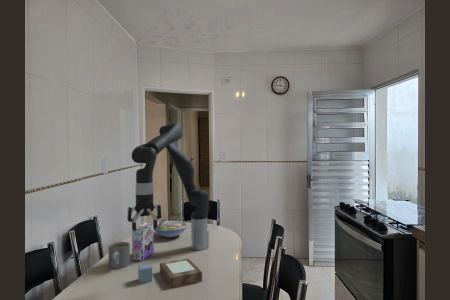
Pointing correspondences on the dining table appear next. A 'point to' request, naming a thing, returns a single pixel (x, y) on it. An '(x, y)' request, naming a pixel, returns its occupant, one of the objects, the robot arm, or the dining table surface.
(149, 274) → the slate block
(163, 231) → the ramen bowl
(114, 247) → the coffee mug
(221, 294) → the dining table surface
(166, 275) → the walnut base
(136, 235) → the candy box
